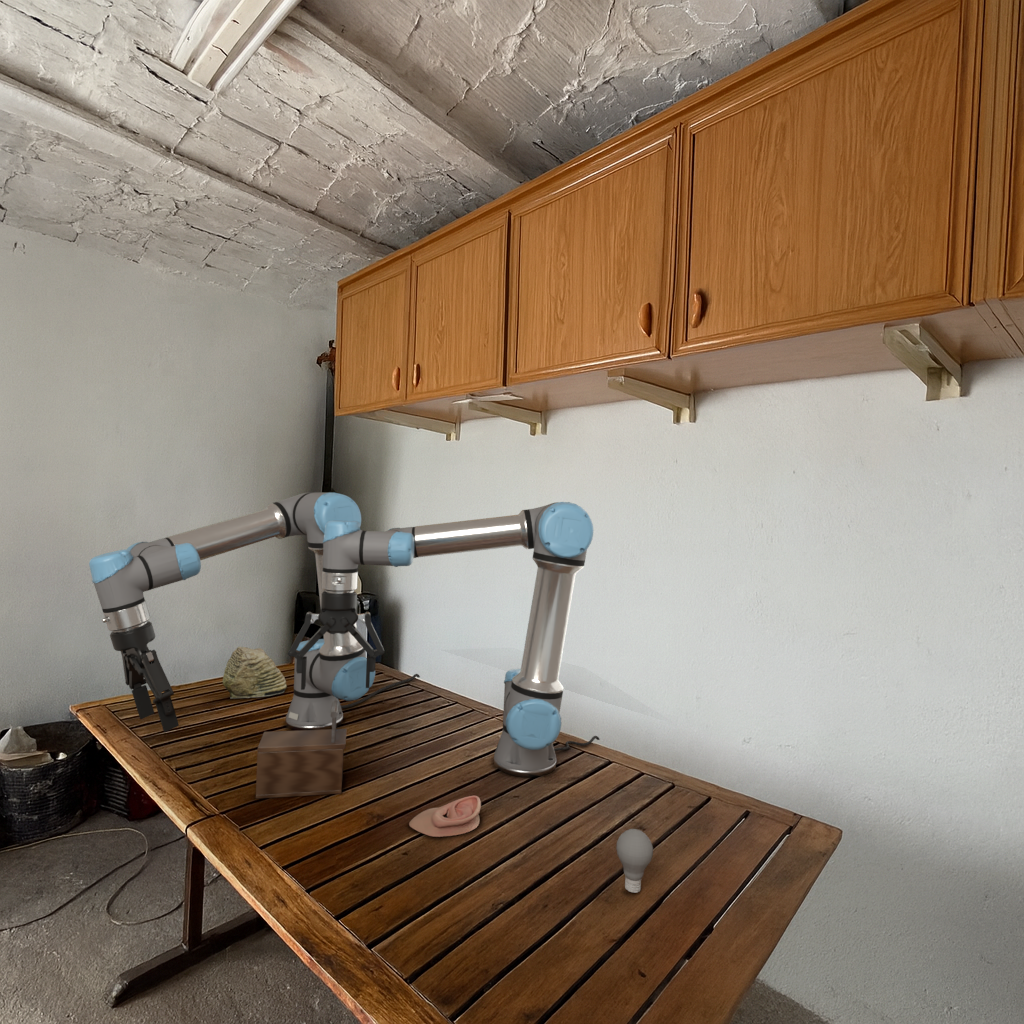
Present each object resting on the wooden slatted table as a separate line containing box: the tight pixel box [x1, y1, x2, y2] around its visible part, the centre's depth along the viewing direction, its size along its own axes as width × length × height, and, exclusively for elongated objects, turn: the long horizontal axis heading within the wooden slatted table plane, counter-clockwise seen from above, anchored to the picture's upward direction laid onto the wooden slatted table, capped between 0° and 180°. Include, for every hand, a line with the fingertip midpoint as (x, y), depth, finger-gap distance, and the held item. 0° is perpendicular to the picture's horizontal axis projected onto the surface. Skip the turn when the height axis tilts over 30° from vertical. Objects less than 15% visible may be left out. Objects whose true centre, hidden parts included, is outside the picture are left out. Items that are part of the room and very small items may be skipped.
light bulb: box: [615, 828, 654, 894], centre depth 106 cm, size 6×6×10 cm
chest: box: [255, 749, 345, 800], centre depth 138 cm, size 17×9×10 cm, turn 103°
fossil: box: [222, 646, 288, 699], centre depth 198 cm, size 9×18×15 cm, turn 132°
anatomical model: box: [408, 795, 482, 838], centre depth 125 cm, size 13×4×12 cm
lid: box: [257, 700, 347, 753], centre depth 138 cm, size 18×9×8 cm, turn 103°
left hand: (159, 722), depth 132 cm, fingers open, 13 cm apart
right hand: (335, 687), depth 139 cm, fingers open, 13 cm apart
